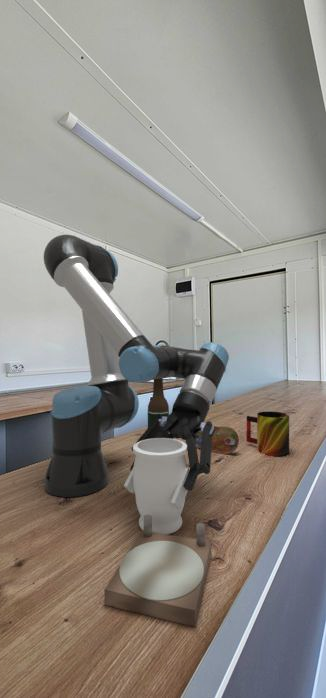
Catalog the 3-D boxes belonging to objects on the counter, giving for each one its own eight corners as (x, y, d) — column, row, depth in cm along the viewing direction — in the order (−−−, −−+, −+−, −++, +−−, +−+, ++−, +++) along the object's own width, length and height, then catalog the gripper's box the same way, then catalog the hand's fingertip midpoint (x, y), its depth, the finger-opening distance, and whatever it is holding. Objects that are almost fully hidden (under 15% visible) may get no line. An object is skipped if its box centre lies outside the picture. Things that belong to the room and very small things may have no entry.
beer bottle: (173, 440, 115) (173, 374, 115) (161, 446, 108) (161, 375, 108) (155, 437, 119) (155, 373, 119) (143, 442, 113) (142, 374, 112)
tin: (193, 448, 106) (192, 423, 106) (197, 446, 109) (197, 421, 109) (236, 456, 98) (236, 429, 98) (240, 453, 100) (240, 427, 100)
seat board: (104, 604, 42) (104, 566, 42) (141, 541, 55) (141, 512, 55) (195, 626, 38) (195, 585, 38) (211, 554, 52) (211, 523, 52)
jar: (184, 543, 55) (183, 455, 54) (126, 537, 56) (125, 452, 56) (190, 511, 65) (189, 438, 65) (141, 507, 67) (140, 436, 67)
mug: (246, 444, 110) (246, 409, 110) (290, 449, 104) (289, 412, 104) (241, 452, 101) (241, 415, 101) (288, 458, 95) (288, 418, 95)
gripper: (248, 416, 66) (213, 525, 54) (160, 405, 80) (116, 490, 67) (237, 394, 62) (197, 507, 49) (146, 386, 76) (97, 473, 63)
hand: (150, 497), depth 58 cm, fingers closed on jar, 10 cm apart
